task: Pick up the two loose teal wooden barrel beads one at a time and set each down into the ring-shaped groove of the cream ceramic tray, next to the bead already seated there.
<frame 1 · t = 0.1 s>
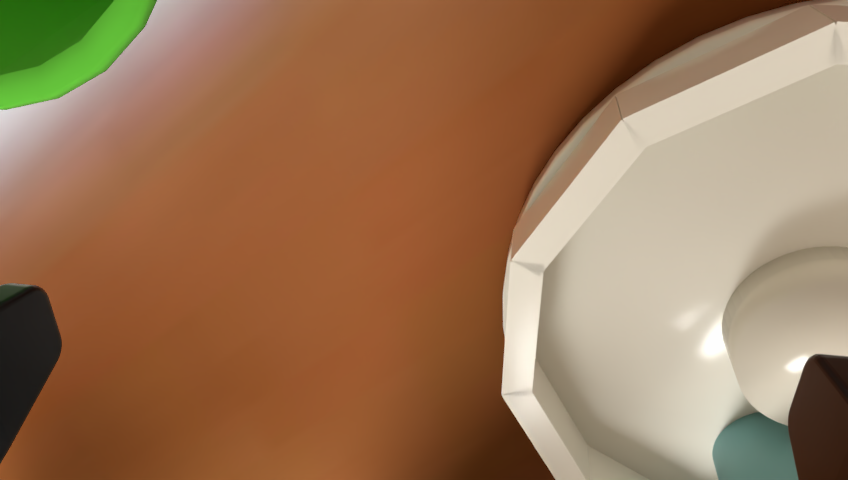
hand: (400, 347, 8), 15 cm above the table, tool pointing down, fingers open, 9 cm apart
groove tray: (804, 304, 24), on the table
bead seated: (770, 451, 26), point 1 cm above the table, touching groove tray
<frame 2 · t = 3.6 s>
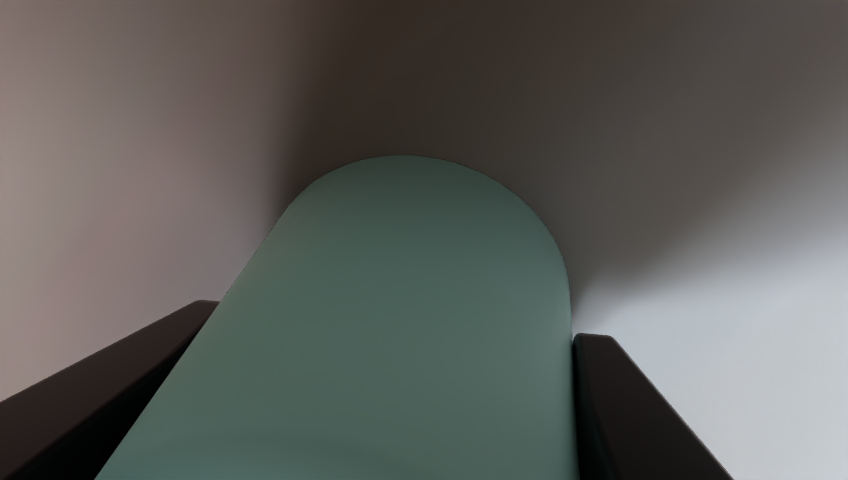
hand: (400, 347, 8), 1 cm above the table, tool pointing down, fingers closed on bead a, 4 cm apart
bead a: (413, 297, 9), on the table, touching gripper
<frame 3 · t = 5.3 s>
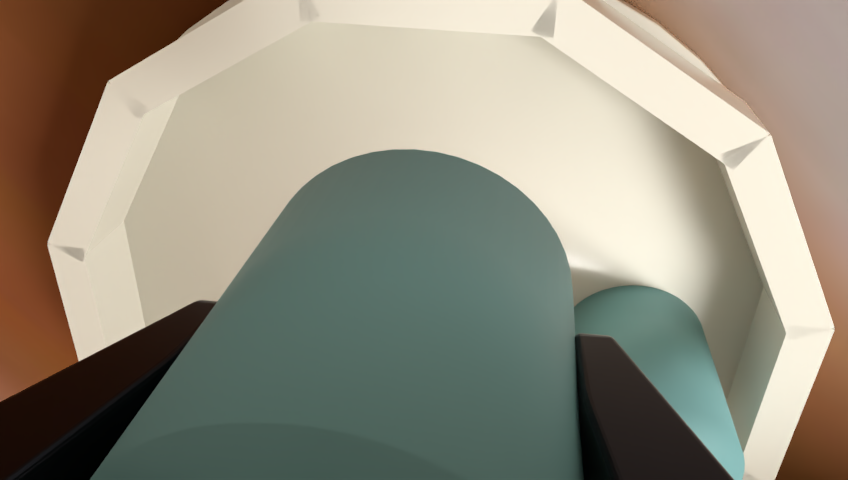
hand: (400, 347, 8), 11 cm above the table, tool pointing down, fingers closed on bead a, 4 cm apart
bead a: (415, 292, 9), point 10 cm above the table, touching gripper
groove tray: (429, 302, 21), on the table
bead seated: (629, 345, 20), point 1 cm above the table, touching groove tray
when the fingers open (3 cm above the table, at t = 7.2 s): bead a stays where it is, resting on groove tray.
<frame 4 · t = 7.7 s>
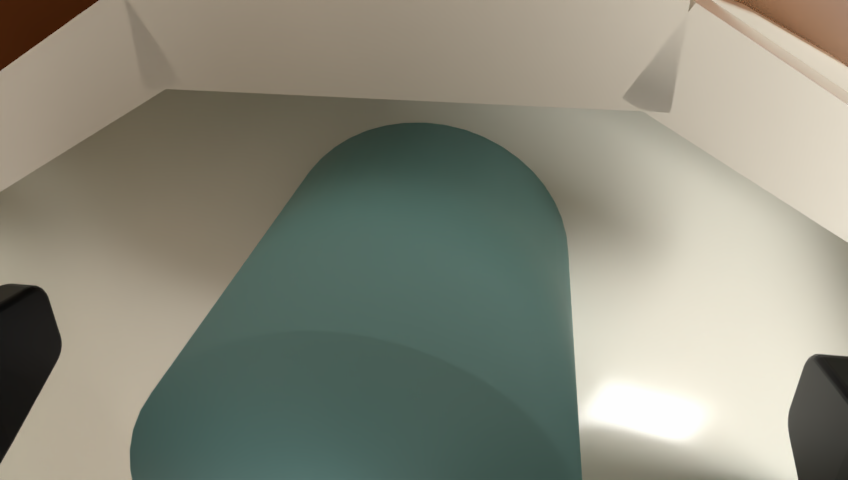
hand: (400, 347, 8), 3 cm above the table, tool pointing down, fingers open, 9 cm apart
bead a: (424, 256, 10), point 1 cm above the table, touching groove tray
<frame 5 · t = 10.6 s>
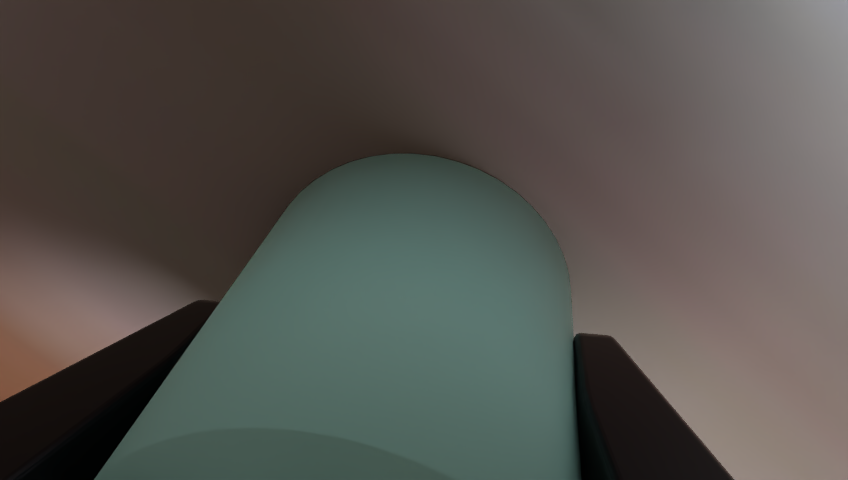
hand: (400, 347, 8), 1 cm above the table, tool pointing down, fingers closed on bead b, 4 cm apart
bead b: (414, 296, 9), on the table, touching gripper
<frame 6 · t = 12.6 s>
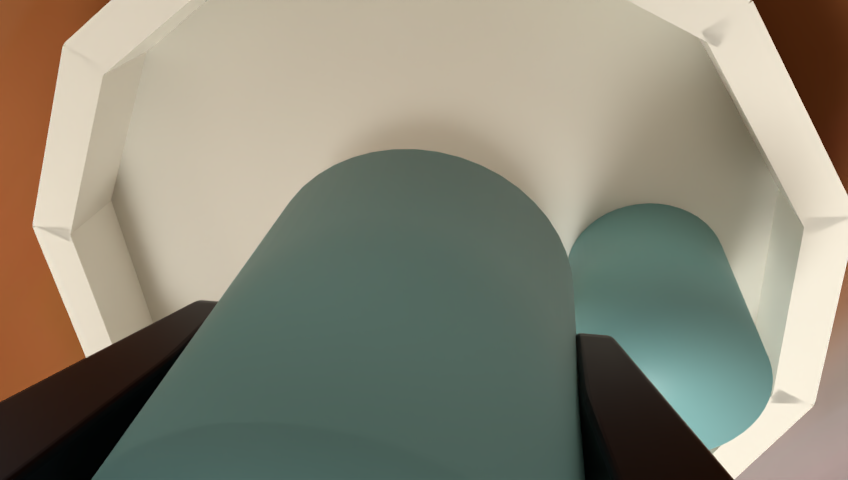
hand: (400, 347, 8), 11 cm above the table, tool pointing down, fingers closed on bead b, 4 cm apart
bead a: (644, 271, 18), point 1 cm above the table, touching groove tray
groove tray: (429, 253, 20), on the table
bead b: (416, 292, 9), point 10 cm above the table, touching gripper
when the fingers open (3 cm above the table, at t = 14.6 s): bead b stays where it is, resting on groove tray.
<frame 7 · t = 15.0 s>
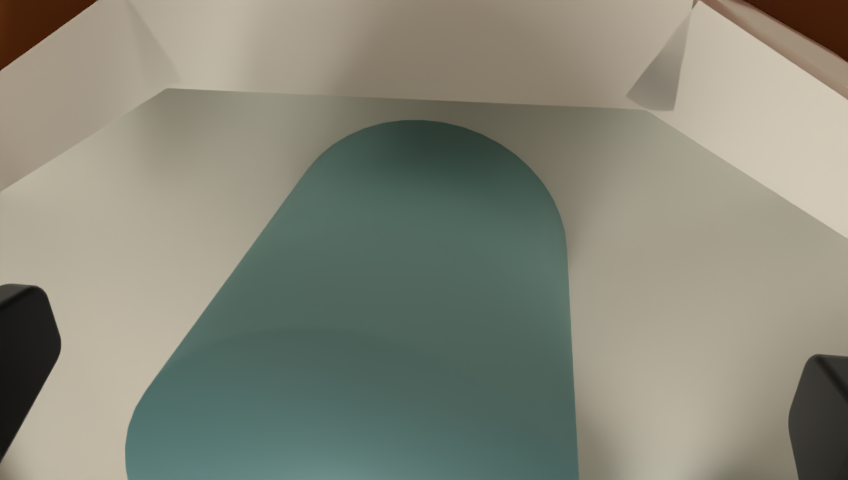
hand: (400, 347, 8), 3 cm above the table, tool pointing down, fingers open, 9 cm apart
bead b: (423, 254, 10), point 1 cm above the table, touching groove tray
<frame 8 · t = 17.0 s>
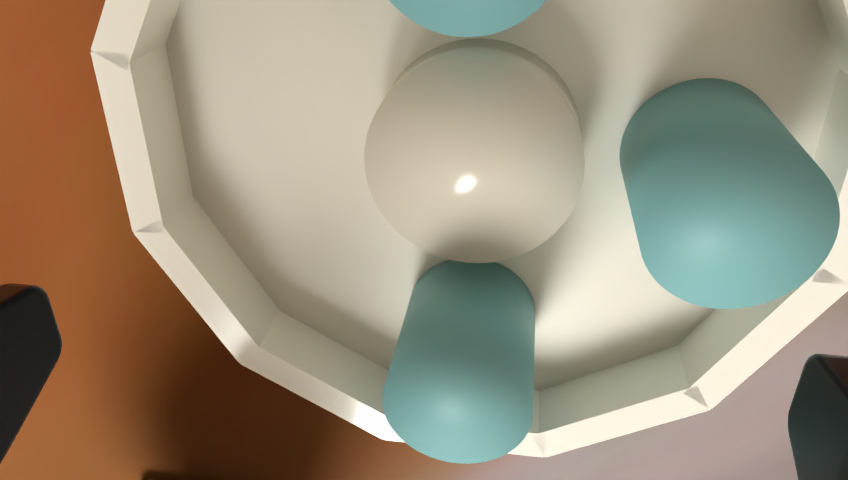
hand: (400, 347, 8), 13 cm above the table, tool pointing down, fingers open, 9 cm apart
bead a: (696, 151, 19), point 1 cm above the table, touching groove tray
groove tray: (481, 127, 20), on the table
bead seated: (471, 311, 22), point 1 cm above the table, touching groove tray
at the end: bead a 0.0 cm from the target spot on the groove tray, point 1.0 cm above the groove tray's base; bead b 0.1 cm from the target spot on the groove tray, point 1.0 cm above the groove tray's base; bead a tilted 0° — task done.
